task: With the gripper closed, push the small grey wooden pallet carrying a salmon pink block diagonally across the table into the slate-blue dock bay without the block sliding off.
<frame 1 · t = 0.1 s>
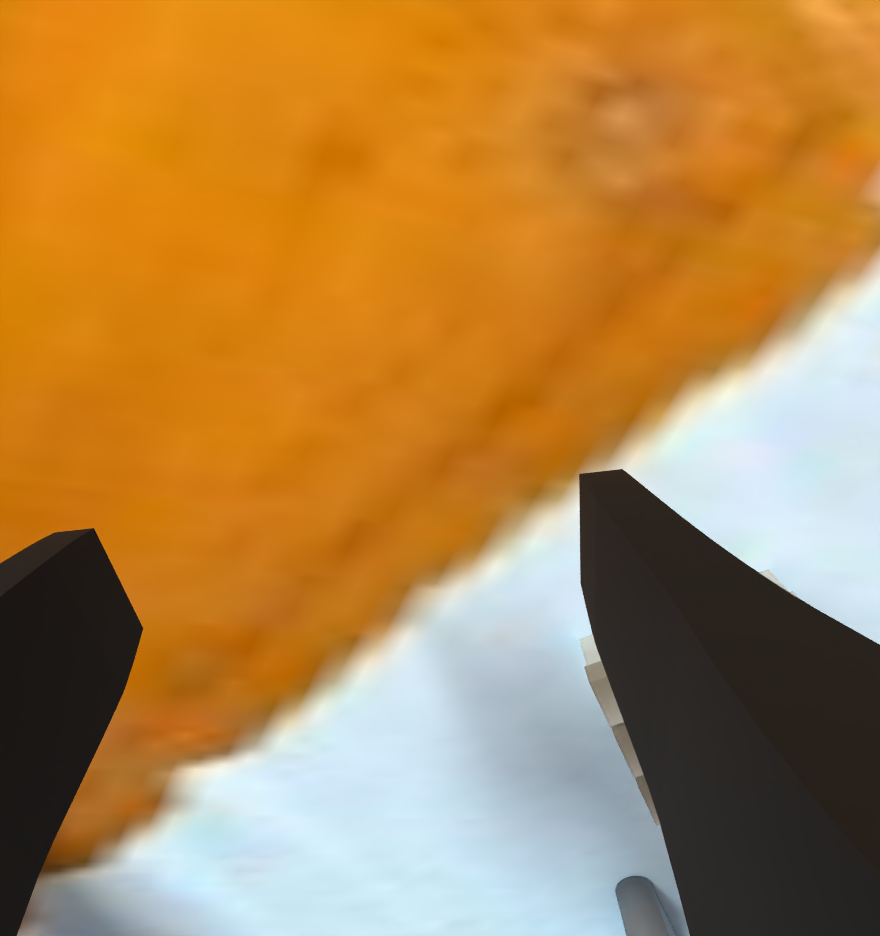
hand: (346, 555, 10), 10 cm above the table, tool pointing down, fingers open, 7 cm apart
pallet: (698, 676, 24), on the table, touching salmon pink block
dock: (790, 909, 28), on the table
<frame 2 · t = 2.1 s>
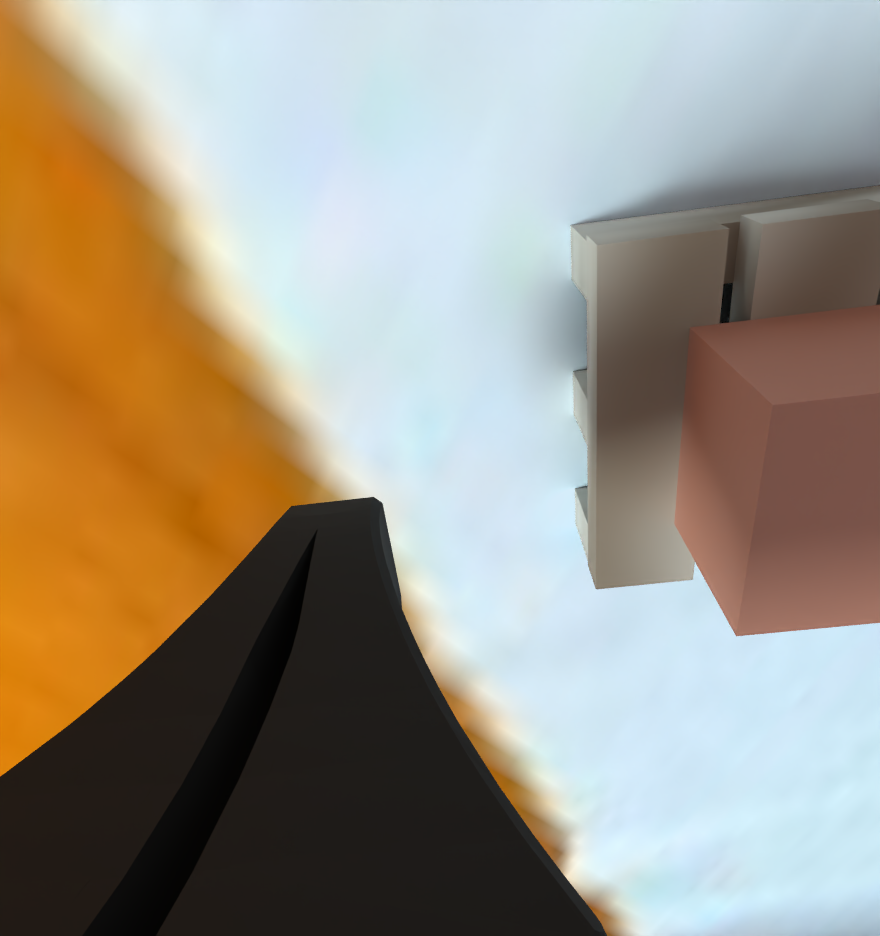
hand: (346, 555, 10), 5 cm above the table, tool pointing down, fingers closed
pallet: (738, 370, 14), on the table, touching salmon pink block
salmon pink block: (794, 421, 12), point 2 cm above the table, touching pallet
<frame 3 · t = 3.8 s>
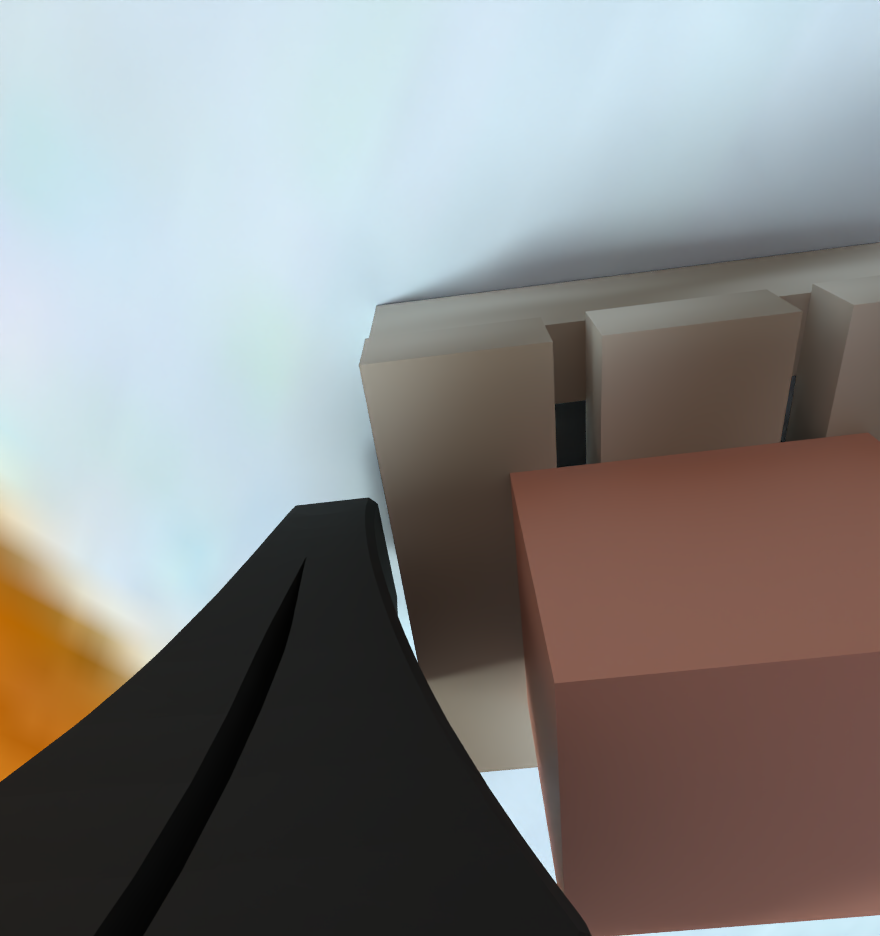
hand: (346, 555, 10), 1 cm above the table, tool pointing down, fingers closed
pallet: (627, 486, 10), on the table, touching salmon pink block, gripper
salmon pink block: (675, 587, 8), point 2 cm above the table, touching pallet
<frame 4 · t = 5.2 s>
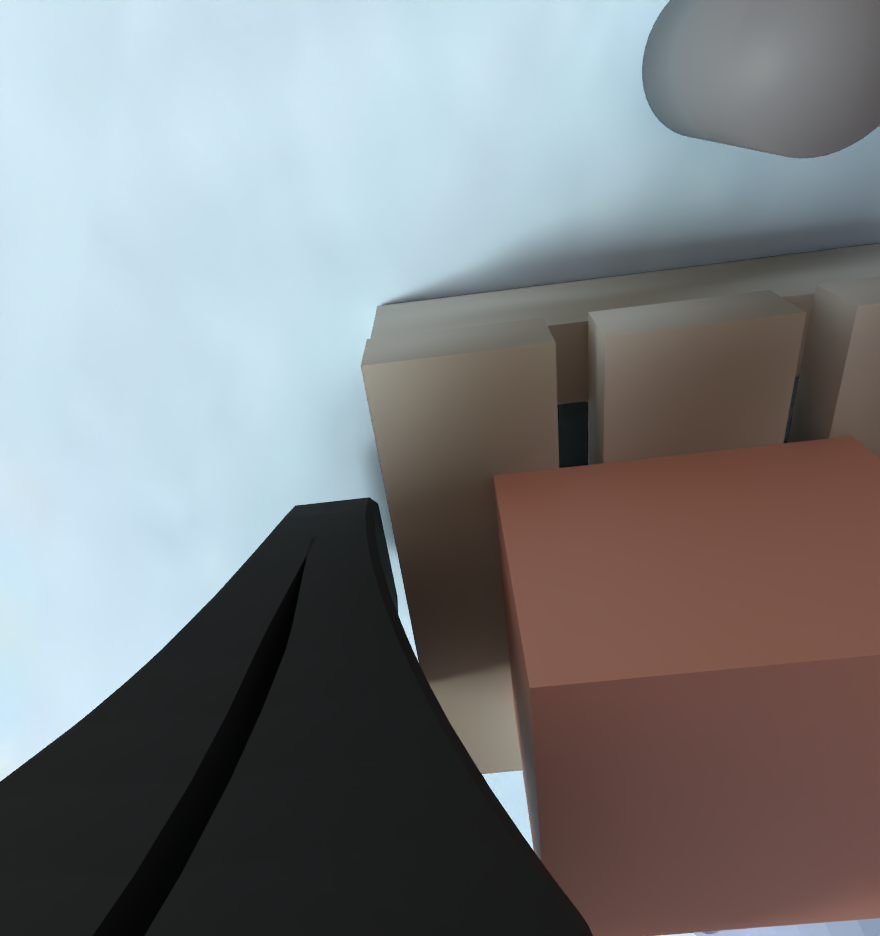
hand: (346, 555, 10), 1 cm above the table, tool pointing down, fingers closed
pallet: (629, 486, 10), on the table, touching salmon pink block, gripper
salmon pink block: (660, 589, 8), point 2 cm above the table, touching pallet
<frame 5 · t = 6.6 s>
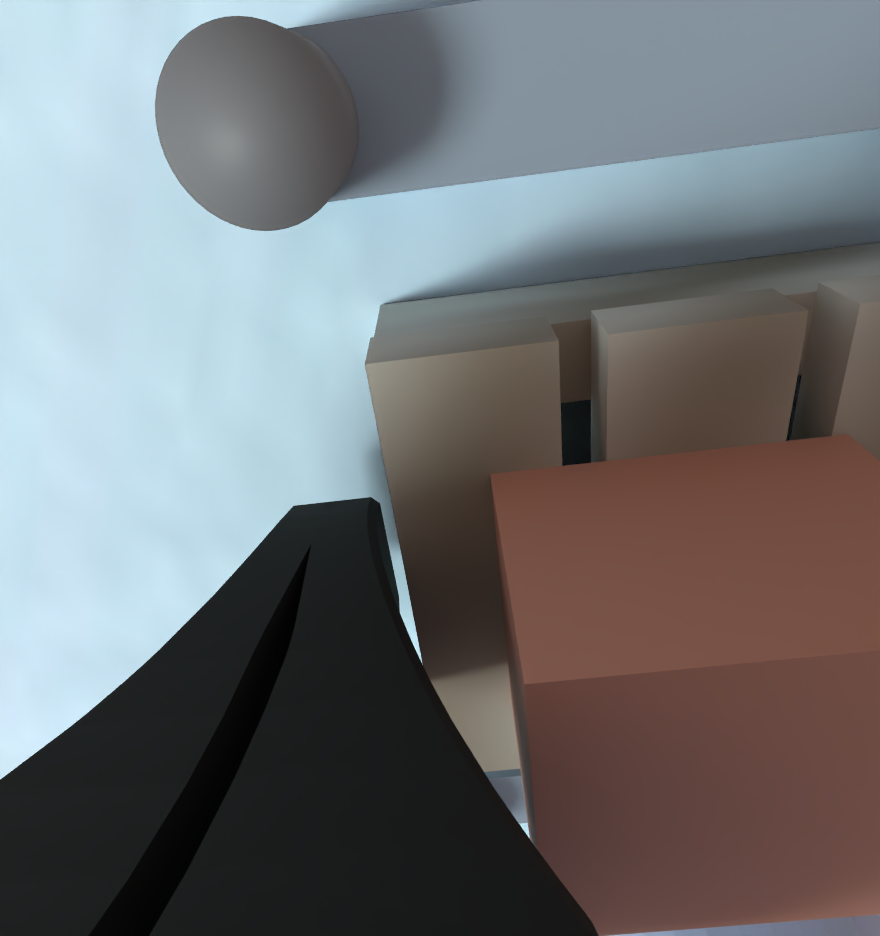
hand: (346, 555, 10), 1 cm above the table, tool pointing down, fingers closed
pallet: (631, 485, 10), on the table, touching salmon pink block, gripper
salmon pink block: (657, 588, 8), point 2 cm above the table, touching pallet
dock: (629, 488, 10), on the table
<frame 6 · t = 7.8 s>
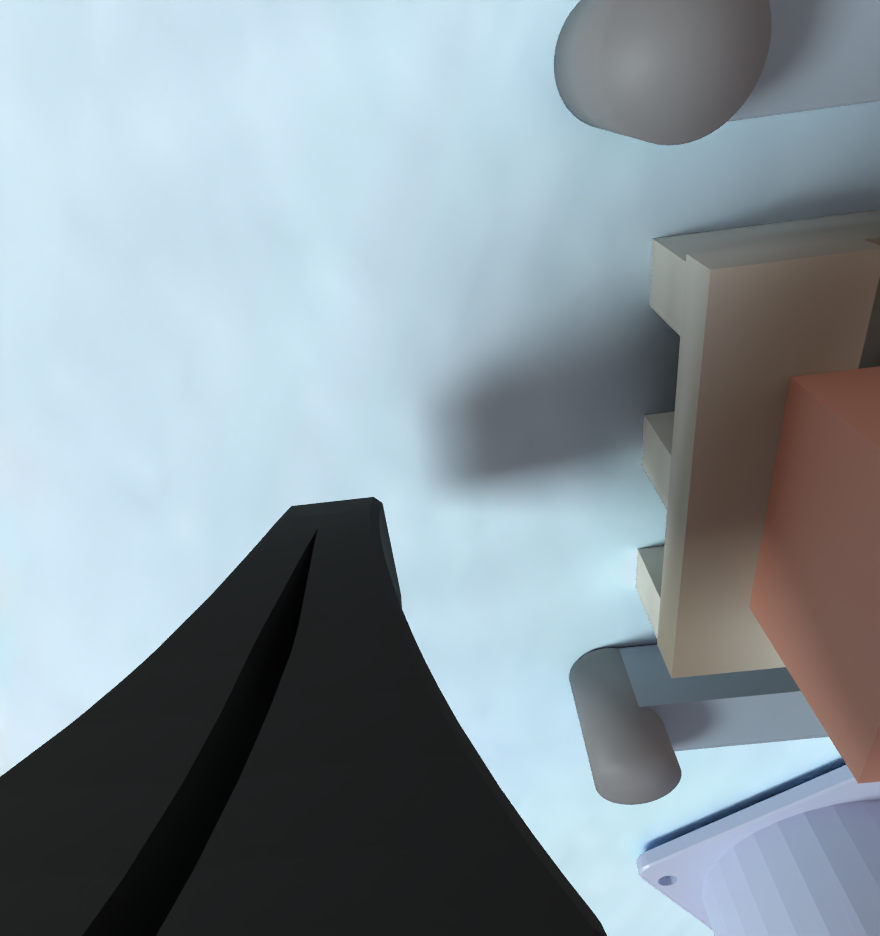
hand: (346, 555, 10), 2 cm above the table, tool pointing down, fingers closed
pallet: (841, 411, 11), on the table
dock: (844, 420, 11), on the table
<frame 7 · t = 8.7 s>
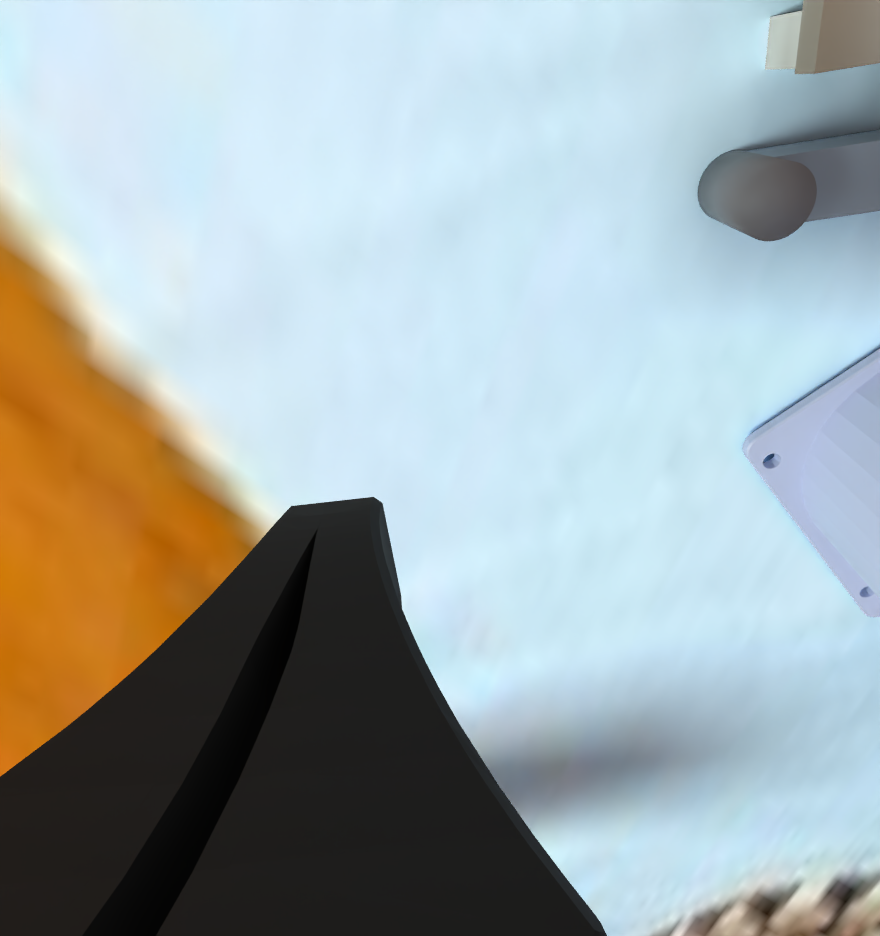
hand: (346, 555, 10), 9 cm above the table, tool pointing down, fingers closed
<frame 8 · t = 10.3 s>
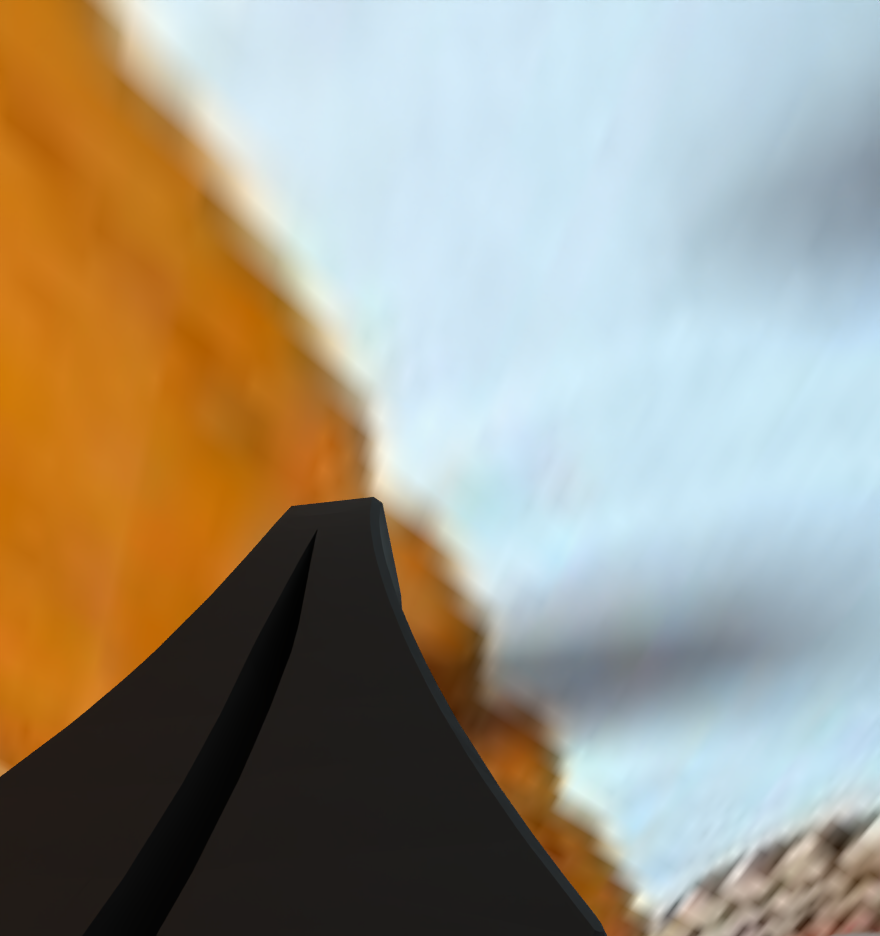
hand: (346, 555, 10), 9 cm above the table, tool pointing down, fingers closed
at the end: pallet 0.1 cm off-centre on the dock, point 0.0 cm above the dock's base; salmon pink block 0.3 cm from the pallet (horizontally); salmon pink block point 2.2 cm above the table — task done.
